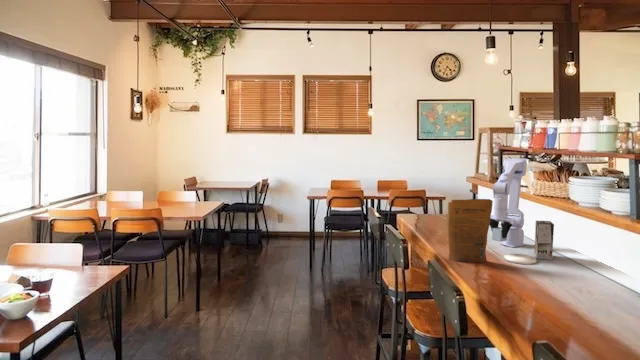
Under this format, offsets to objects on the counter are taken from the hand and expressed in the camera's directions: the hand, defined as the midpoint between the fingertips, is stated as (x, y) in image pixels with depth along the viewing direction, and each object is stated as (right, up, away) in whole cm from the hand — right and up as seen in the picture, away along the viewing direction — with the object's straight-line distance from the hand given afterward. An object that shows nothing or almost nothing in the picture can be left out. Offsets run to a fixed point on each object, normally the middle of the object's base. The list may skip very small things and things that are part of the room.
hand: (499, 236), depth 196 cm
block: (0, -2, 0) cm, 2 cm away
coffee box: (+19, -9, -3) cm, 21 cm away
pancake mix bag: (-18, -10, -10) cm, 23 cm away
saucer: (+5, -9, -8) cm, 14 cm away
